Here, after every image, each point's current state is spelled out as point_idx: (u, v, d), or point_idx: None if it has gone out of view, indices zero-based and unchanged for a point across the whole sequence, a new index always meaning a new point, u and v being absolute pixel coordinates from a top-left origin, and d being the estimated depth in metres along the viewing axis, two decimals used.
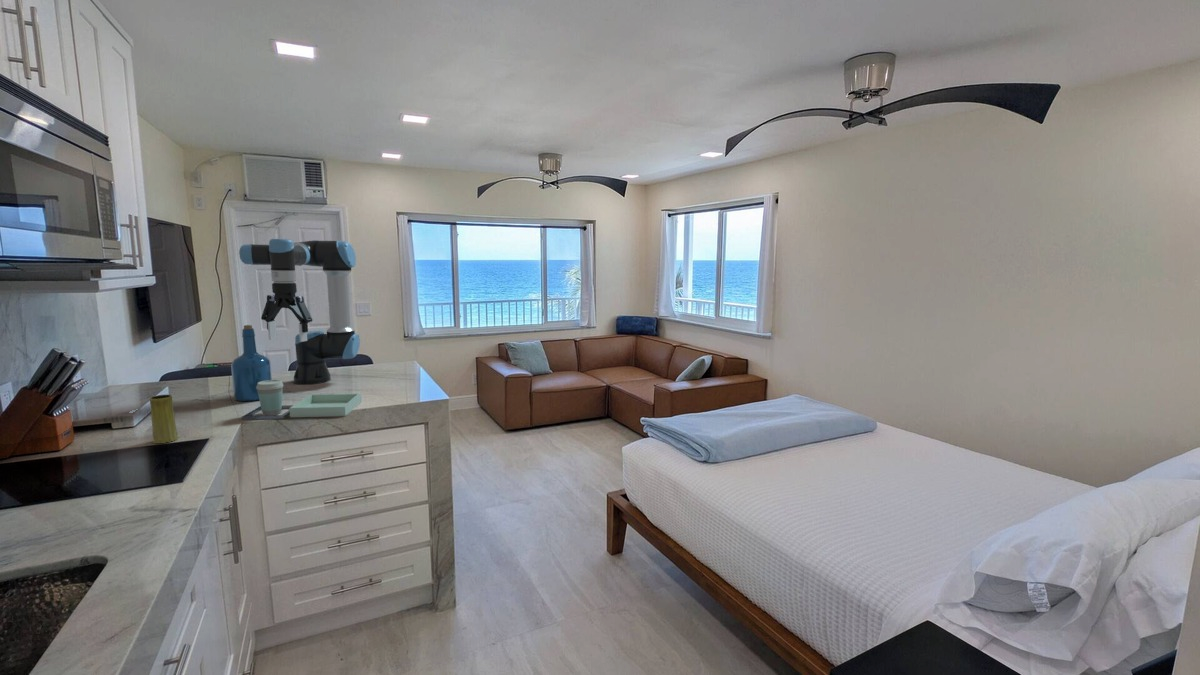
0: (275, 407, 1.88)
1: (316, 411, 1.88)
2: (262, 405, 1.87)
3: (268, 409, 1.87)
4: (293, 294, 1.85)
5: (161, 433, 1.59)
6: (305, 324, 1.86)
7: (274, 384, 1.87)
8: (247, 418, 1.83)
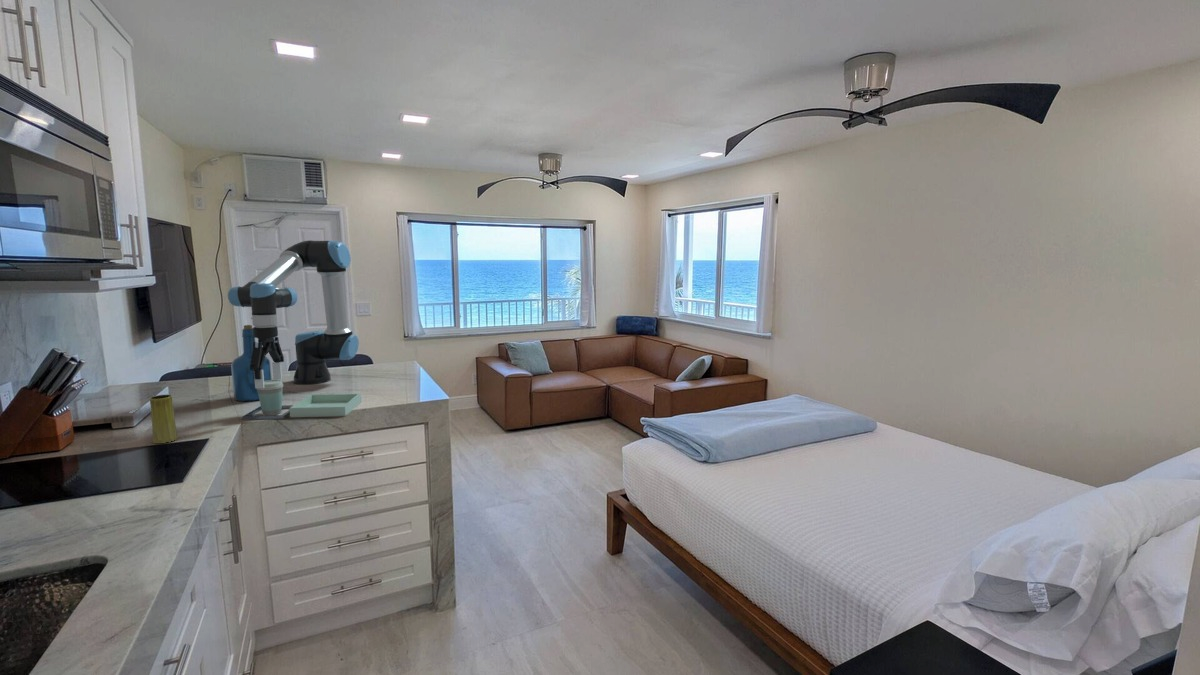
0: (275, 407, 1.88)
1: (316, 411, 1.88)
2: (262, 405, 1.87)
3: (268, 409, 1.87)
4: (260, 339, 1.83)
5: (161, 433, 1.59)
6: (255, 371, 1.80)
7: (274, 384, 1.87)
8: (247, 418, 1.83)
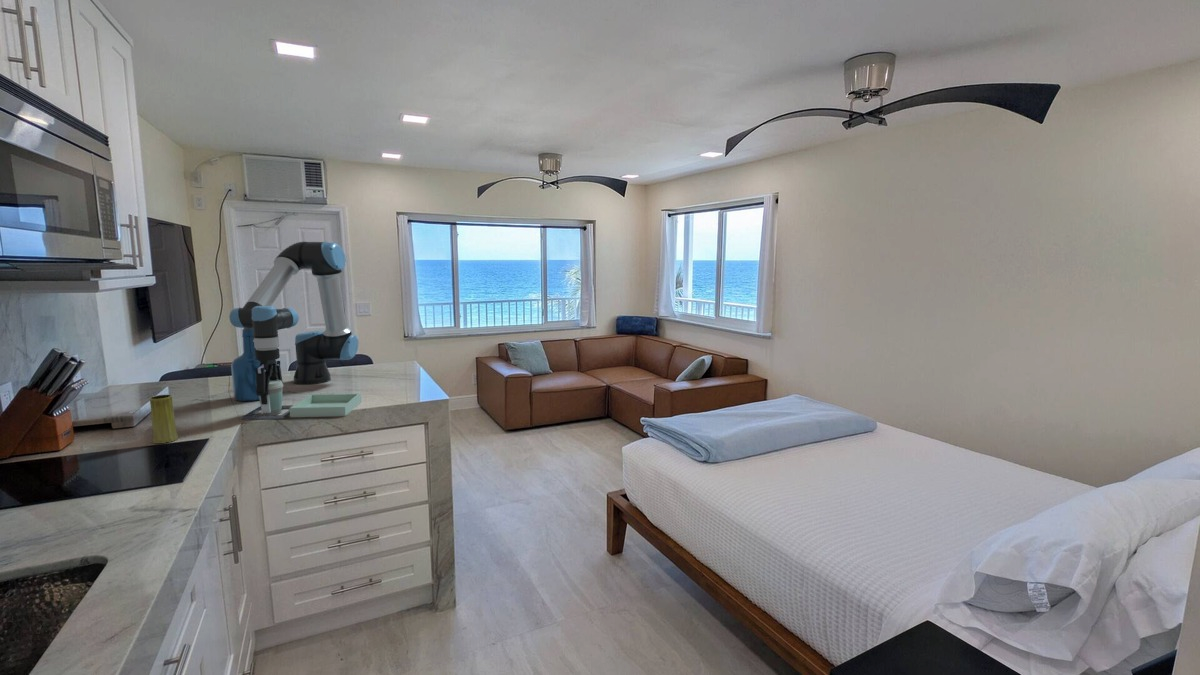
0: (275, 407, 1.88)
1: (316, 411, 1.88)
2: None
3: None
4: (262, 362, 1.84)
5: (161, 433, 1.59)
6: (262, 396, 1.84)
7: (274, 384, 1.87)
8: (247, 418, 1.83)
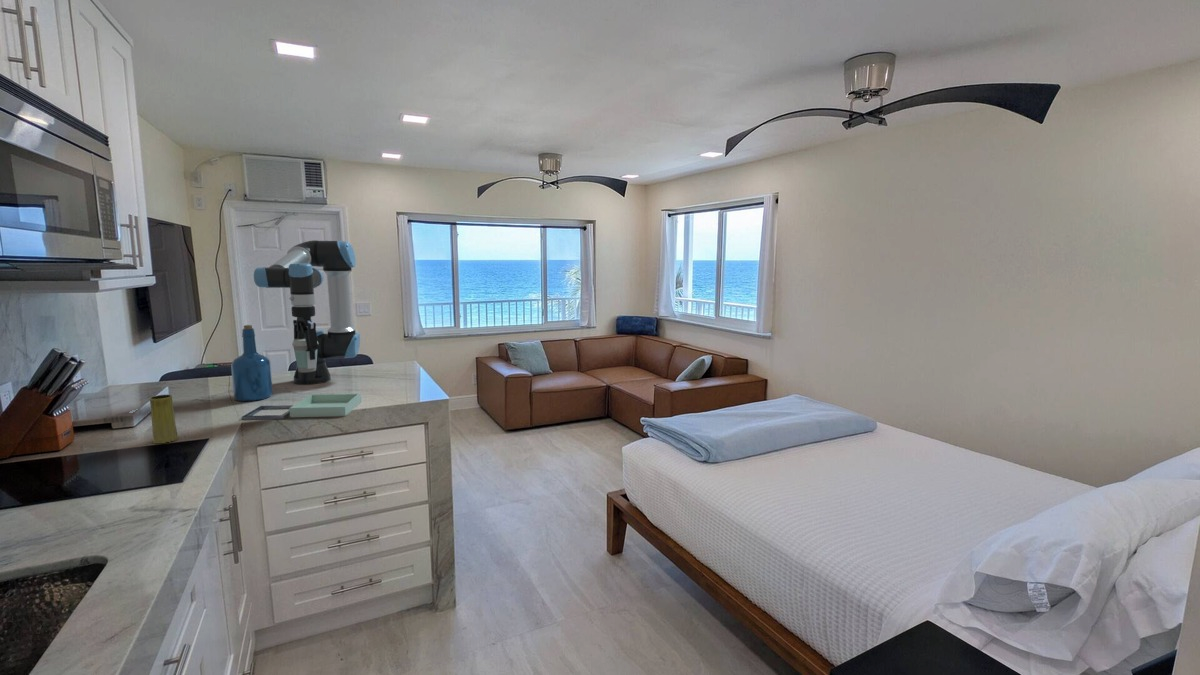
0: (316, 362, 1.93)
1: (316, 411, 1.88)
2: (304, 362, 1.89)
3: None
4: (308, 318, 1.87)
5: (161, 433, 1.59)
6: (312, 352, 1.88)
7: None
8: (247, 418, 1.83)
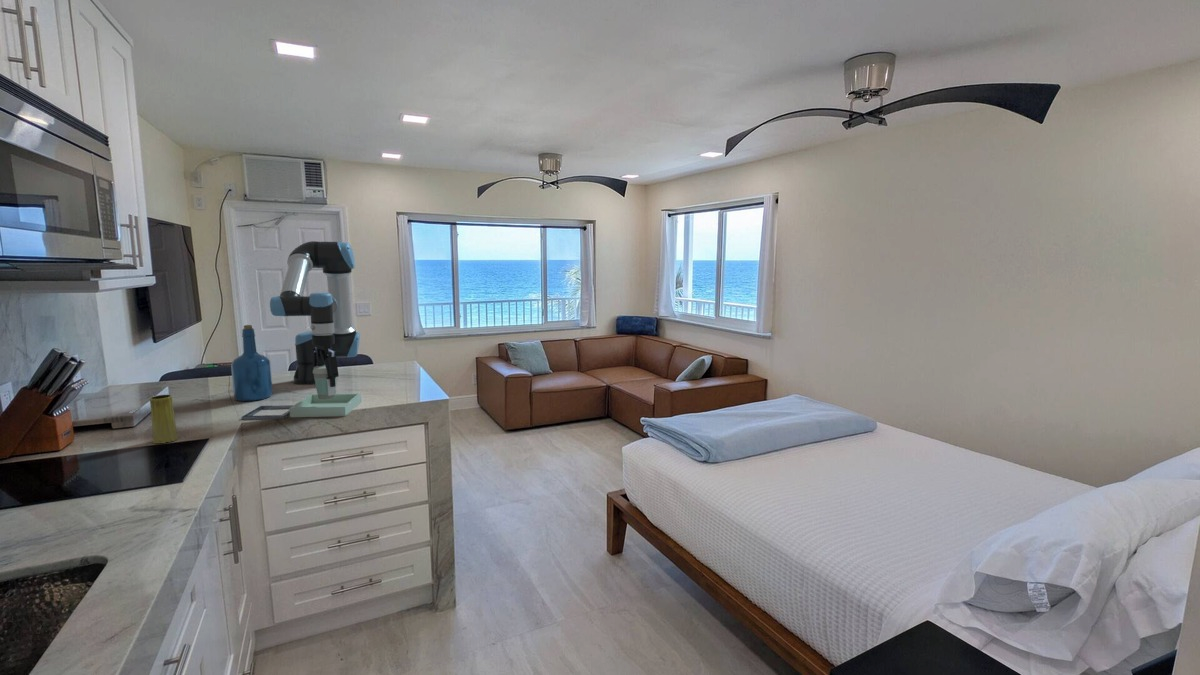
0: None
1: (316, 411, 1.88)
2: (324, 389, 1.93)
3: None
4: (328, 346, 1.91)
5: (161, 433, 1.59)
6: (332, 379, 1.92)
7: None
8: (247, 418, 1.83)
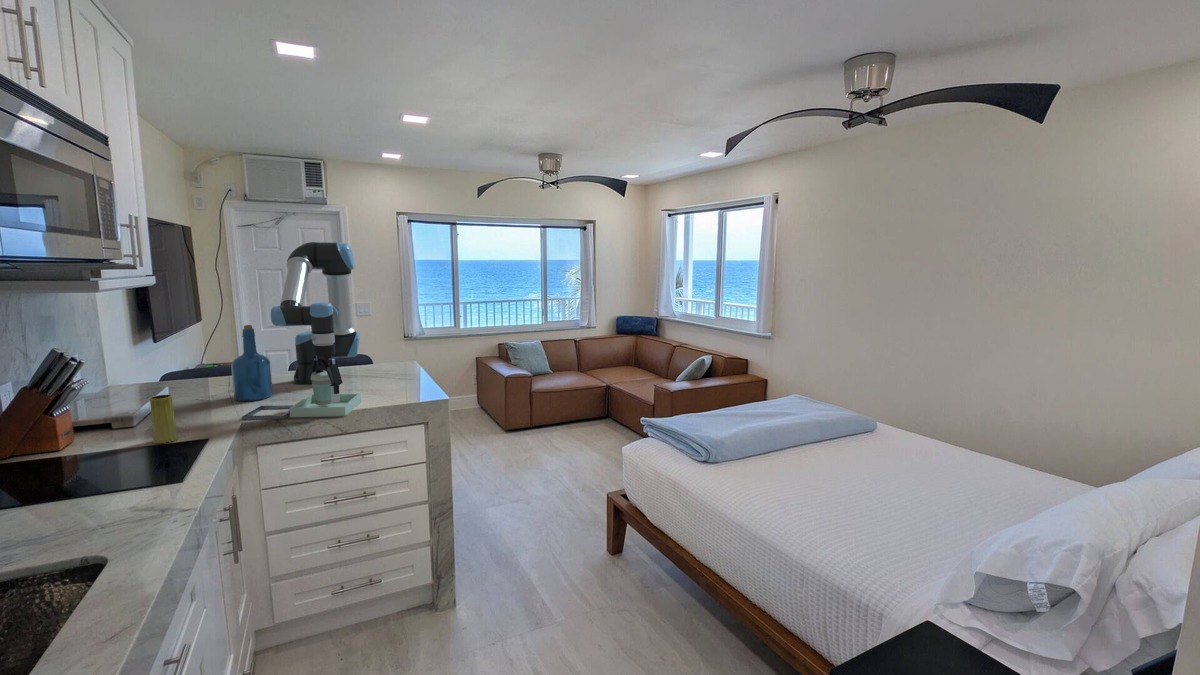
0: None
1: (316, 411, 1.88)
2: (321, 395, 1.95)
3: (328, 398, 1.97)
4: (329, 356, 1.92)
5: (161, 433, 1.59)
6: (336, 386, 1.91)
7: None
8: (247, 418, 1.83)
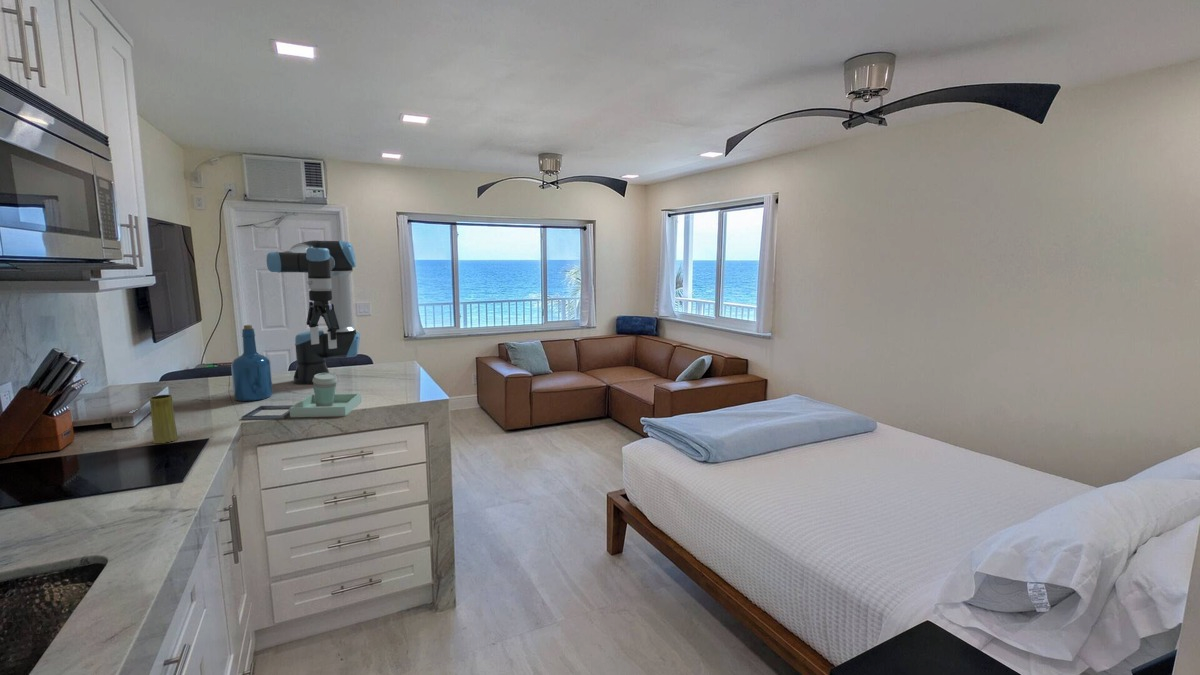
0: (333, 398, 1.99)
1: (316, 411, 1.88)
2: (323, 398, 1.95)
3: (329, 401, 1.97)
4: (325, 302, 1.89)
5: (161, 433, 1.59)
6: (333, 332, 1.88)
7: (335, 377, 1.97)
8: (247, 418, 1.83)
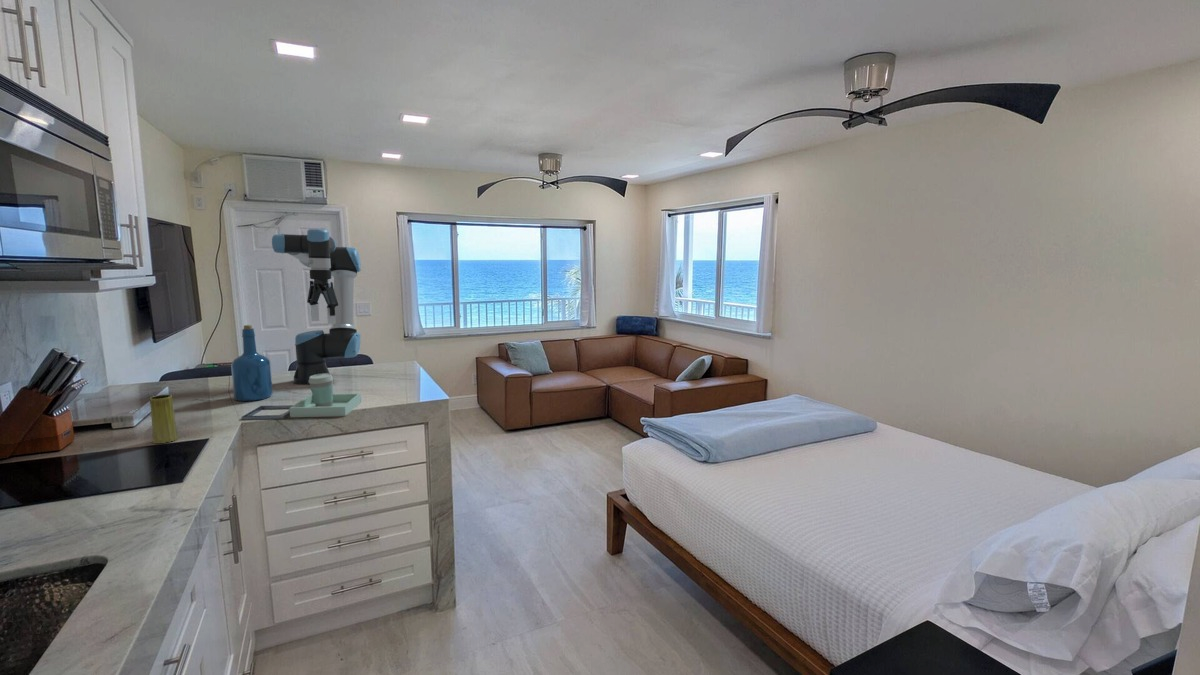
0: (332, 397, 1.99)
1: (316, 411, 1.88)
2: (321, 398, 1.96)
3: (328, 400, 1.97)
4: (325, 280, 2.01)
5: (161, 433, 1.59)
6: (332, 308, 2.00)
7: (330, 376, 1.98)
8: (247, 418, 1.83)
